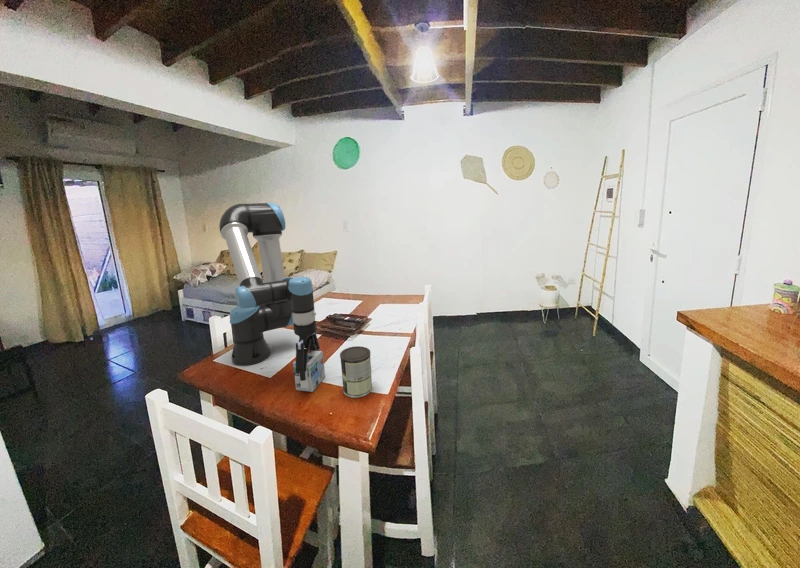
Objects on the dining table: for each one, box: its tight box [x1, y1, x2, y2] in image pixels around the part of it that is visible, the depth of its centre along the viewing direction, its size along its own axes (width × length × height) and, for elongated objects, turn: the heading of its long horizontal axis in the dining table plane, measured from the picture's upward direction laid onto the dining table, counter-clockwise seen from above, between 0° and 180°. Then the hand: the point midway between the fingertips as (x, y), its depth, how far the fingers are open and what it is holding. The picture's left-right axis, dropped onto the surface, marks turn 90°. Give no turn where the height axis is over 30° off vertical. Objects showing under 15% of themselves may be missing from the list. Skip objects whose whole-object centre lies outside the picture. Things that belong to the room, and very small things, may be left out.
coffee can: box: [339, 345, 373, 399], centre depth 108 cm, size 10×10×14 cm
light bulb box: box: [292, 350, 326, 393], centre depth 113 cm, size 11×7×11 cm, turn 168°
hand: (310, 378), depth 114 cm, fingers closed on light bulb box, 11 cm apart
